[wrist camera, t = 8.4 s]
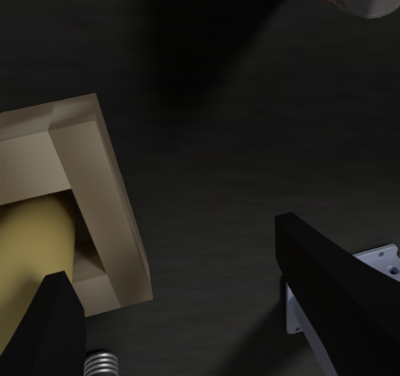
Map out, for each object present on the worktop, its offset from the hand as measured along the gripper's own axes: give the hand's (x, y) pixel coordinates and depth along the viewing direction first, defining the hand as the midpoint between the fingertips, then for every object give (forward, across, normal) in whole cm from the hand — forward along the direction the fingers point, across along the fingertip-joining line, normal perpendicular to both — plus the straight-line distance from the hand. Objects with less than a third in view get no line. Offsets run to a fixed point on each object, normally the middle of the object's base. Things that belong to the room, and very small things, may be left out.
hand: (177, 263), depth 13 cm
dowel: (+10, +7, +3) cm, 12 cm away
